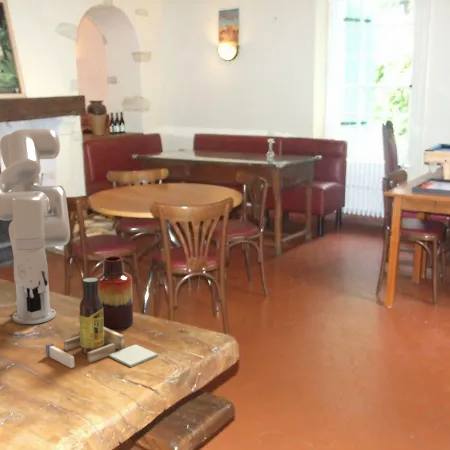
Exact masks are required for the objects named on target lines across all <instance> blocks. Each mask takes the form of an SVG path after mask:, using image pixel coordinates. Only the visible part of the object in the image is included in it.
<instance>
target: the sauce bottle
mask: <svg viewBox="0 0 450 450" xmlns="http://www.w3.org/2000/svg"><path fill="white" fill-rule="evenodd" d="M82 286H83V293H82V294H83V297H82V299H81V301H80V303H79V314H78V315H79V335H80V345H81V346H80V348H81V349H80V350H81V352H82V353H83V354H85V355H87V352H90V351H93V350H95V349H98V348H101V347H104V346H105V343H104V322H103V306H102V303H101V301H100V298H99V296H98V279H97V278H96V277H86V278H83V279H82Z"/></svg>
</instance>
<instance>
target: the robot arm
mask: <svg viewBox="0 0 450 450" xmlns="http://www.w3.org/2000/svg"><path fill="white" fill-rule="evenodd" d="M60 149H61V143H60V137H59V135H58V134H57V132H56V131H55V130H53V129H50V128H33V129H32V128H30V129H29V128H27V129H26V128H25V129H24V128H23V129H17V130H14V131H13V132H11V133H8V134H5V135H4V136H2V137H1V138H0V155H1V159H2V161H3V162H2V163H3V164H4V167H5V168H4V169H3V170H2V172H0V220H1V221H11V222H9V223H10V224H9V226H8V235H9V240H10V244H11V248H12V249H11V250H12V255H13V280H14V283H15V292H16V301H15V302H14V305H15V306H16V308H17V311H15V312H14V313H13V314H12V320H13V321H14V322H15V323H17V324H20V325H21V324H22V325H37V324H43V323H46V322H49V321H51V320H52V319H54V318H55V317H56V315H57V313H56V310H55V309H54V308H52V307H51V305H50V304H51V303H50V301H51V300H50V287H49V269H48V261H47V254H46V250H45V249H46V248H53V247H63V246H66V245H67V244H68V243H69V242H70V239H71V227H70V220H69V219H70V218H69V211H68V201H67V196H66V193H65V190H64V189H63V188H62V187H60V186H58V185H41V182H40V181H41V179H40V173H41V168H42V167H41V161H40V160H54V159H56V158H57V157H58V156H59V154H60V151H61V150H60Z"/></svg>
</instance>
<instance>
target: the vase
mask: <svg viewBox="0 0 450 450" xmlns="http://www.w3.org/2000/svg"><path fill="white" fill-rule="evenodd" d="M102 265H103V266H102V267H103V268H102V273H100V274H98V275H96V277H95V278H97V279H98V296H99V298H100V301H101V303H102V306H103V322H104V327H106V328H108V329H110V330H113V331H118V330H123V329H124V330H125V329H127V328H129V327H131V326H132V325H133V323H134V305H133V303H134V301H133V277H132V275H131V274H130V273H128V272H125V271H124V270H125V269H124V263H123V257H121V256H117V255H114V256H113V255H111V256H107V257H106V256H105V258H103V264H102Z"/></svg>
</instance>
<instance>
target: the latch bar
mask: <svg viewBox="0 0 450 450" xmlns="http://www.w3.org/2000/svg"><path fill="white" fill-rule="evenodd" d="M45 356H46V357H48V358H51V359H53V360H55V361H56V362H59V363H60V364H62V365H65V367H68V368H70V369H73V368H75V356H74V355H72V354H69V353H68V352H67V351H64V350H62V349H60V348H58V347H57V346H55V345H54V343H53V342H48V343H45Z"/></svg>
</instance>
